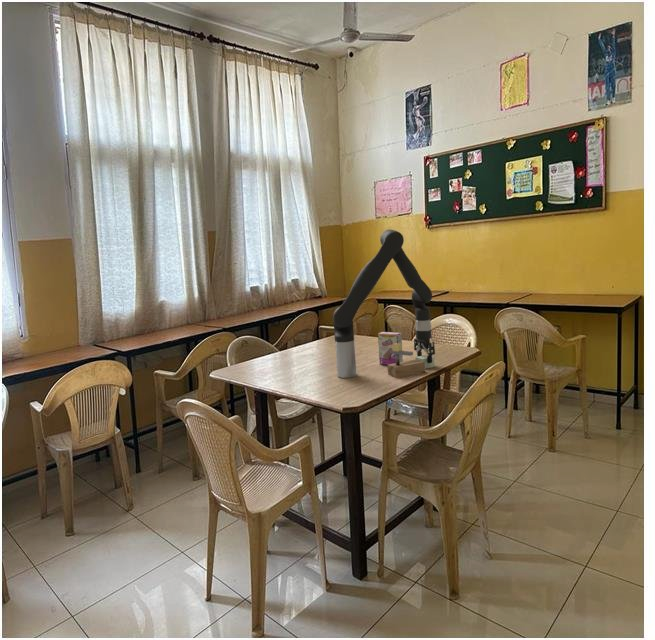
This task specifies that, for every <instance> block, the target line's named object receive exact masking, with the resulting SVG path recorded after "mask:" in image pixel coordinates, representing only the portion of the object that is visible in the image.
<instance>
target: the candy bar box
mask: <svg viewBox="0 0 655 640" xmlns="http://www.w3.org/2000/svg"><path fill="white" fill-rule="evenodd" d="M377 339H378V356H379V365H381V366H382V365H383V366H388V364H393V363H396V358H395V354H391V353H390V351H391V350H392V344H394V343H398V344H401V348H402V349H403V342H402V341H403V336H402V332H391V331H380V332H378V333H377ZM403 356H404V355H399V360H400V362H404V359H403V358H404V357H403Z"/></svg>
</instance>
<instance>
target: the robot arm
mask: <svg viewBox="0 0 655 640" xmlns="http://www.w3.org/2000/svg"><path fill="white" fill-rule="evenodd" d="M379 238H380V244H381V246H380V248H379V250H378V251H377V253H376V254H375V255H374V257H373V258H371V259H370V261H368V262H367V263H366V264H365V266H363V268H362V269H361V270H360V272H359V273H358V274H357V276H356V278H355V280H354V282H353V284H352V286H351V288H350V291H349V293H348V295H347V296H346V298H345V300H344V301H343V302H342V304H341V305H340V306H339V307H337V308H336V309H334V312H333V314H332V315H333V316H332V319H333V331H334V332H333V334H334V344H335V359H336V361H335V362H336V370H337V371H336V374H337V377H338V378H342V379H347V378H349V379H350V378H354V377H356V376H357V373H358V372H357V362H356V361H357V360H356V359H357V358H356V346H355V331H354V319H355V316H356V314H357V313H358V310H359V309H360V307H361V305H362V304H363V303H364V301H365V300H366V299H367V298H368V296H369V295H370V293H371V292H372V291H373V289H374V288H375V287H376V286H377V283H378V282H379V280H380V278H381V277H382V276H383V274H384V272H385V270H386V269H387V267H388V266H389V264H390V263H391V262H392V260H393V261H394V263H395V265H396V267H397V268H398V270H399V272H400V274H401V275H402V277H403V279H404V281H405V283H406V284H407V286H408V287H409V288H410V289H412V290H413V291H412V292H411V301H412V305H413V308H414V312H415V324H414V325H415V328H414V329H415V338H414V339H413V350H414V351H416V357H417V356H423V355H422V354H423V352H422V351H424V352H425V353H426V355H428V356H427V362H428V363H432V356H434V355H436V350H435V349H436V348H435V342H433V341H432V342H431V339H432V322H431V311H430V308H429V307H427V306H426V304H427V303H430V302H431V301H432V299H433V293H432V290H431V288H430V287H429V286H428V285H427V283H426V281H424V280H423V279H422V278H421V275H420V273H419V272H418V269H417V268H416V266H414V264H413V262H412V261H411V260H410V258H409V257H408V256H407V254H406V253H405V251H404V248H402V247H403V245H404V242H405V240H404V239H405V238H404V236H403V234H402V233H401V232H399V231H398V230H395V229H386V230H384V231H382V233H381V234H380V237H379Z"/></svg>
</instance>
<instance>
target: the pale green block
mask: <svg viewBox="0 0 655 640" xmlns="http://www.w3.org/2000/svg"><path fill="white" fill-rule="evenodd" d="M427 356H428V355H427V354H424V355H422V356H417V355H416V356H415V357H414V359H417V360H420V361H423V362H425V369H429V368H435V365H436V363H435V356H434V355H432V363H428V362H427Z"/></svg>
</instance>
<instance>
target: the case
mask: <svg viewBox="0 0 655 640" xmlns="http://www.w3.org/2000/svg"><path fill="white" fill-rule="evenodd" d="M422 373H426V368H425V362H423V361H420V360H417V359H415V358H414V359H410V360H405V361H404V360H403V362H400V365H396V363H393V364H388V365H387V376H389V377H392V378H394V379H398V378H402V377H407V376H413V375H418V374H422Z"/></svg>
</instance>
